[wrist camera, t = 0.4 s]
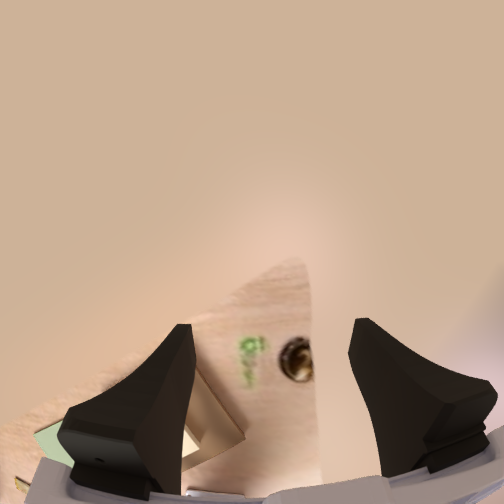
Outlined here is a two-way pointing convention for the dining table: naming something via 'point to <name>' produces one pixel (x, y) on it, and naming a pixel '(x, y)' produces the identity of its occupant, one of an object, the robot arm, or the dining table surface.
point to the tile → (189, 442)
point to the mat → (53, 445)
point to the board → (208, 424)
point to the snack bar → (22, 486)
